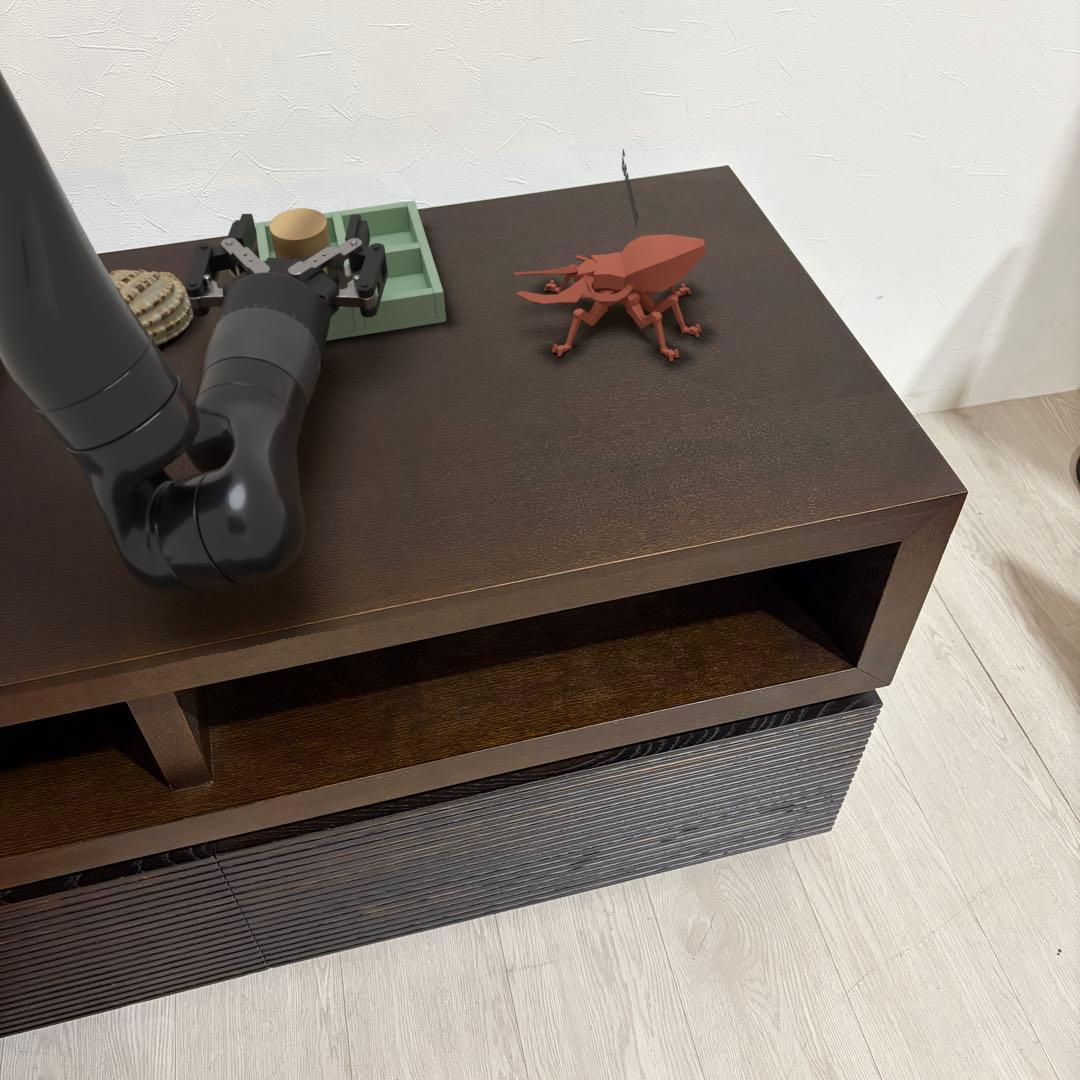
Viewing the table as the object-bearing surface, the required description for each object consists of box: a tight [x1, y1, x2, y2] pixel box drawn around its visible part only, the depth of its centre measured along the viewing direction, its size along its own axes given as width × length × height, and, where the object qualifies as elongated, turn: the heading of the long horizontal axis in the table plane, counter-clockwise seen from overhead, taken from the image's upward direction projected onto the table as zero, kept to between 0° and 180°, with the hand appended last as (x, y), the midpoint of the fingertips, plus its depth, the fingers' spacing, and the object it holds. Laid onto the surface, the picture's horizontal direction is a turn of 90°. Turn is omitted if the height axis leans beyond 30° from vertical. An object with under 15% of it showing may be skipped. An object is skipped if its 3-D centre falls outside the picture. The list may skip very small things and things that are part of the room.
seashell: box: [108, 268, 195, 346], centre depth 88 cm, size 8×6×10 cm
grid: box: [254, 200, 447, 342], centre depth 92 cm, size 14×14×3 cm
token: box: [269, 207, 332, 274], centre depth 87 cm, size 4×4×8 cm
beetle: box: [513, 148, 707, 362], centre depth 86 cm, size 15×12×13 cm
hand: (303, 223), depth 86 cm, fingers open, 8 cm apart
